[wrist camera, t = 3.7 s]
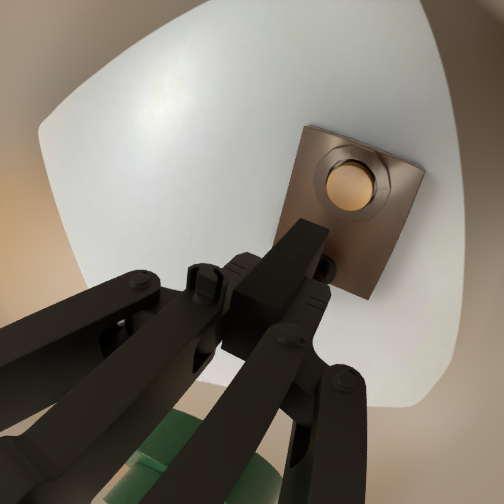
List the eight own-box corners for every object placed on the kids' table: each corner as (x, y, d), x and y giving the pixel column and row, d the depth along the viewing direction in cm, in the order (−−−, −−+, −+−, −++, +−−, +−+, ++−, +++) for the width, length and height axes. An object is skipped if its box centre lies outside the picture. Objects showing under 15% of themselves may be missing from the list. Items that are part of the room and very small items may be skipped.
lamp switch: (379, 171, 24) (378, 175, 23) (365, 212, 27) (363, 218, 25) (337, 155, 26) (333, 158, 24) (325, 195, 28) (320, 200, 26)
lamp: (374, 260, 28) (249, 581, 6) (341, 327, 32) (221, 569, 11) (288, 225, 30) (55, 458, 8) (267, 295, 35) (101, 497, 13)
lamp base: (423, 167, 25) (427, 174, 22) (370, 290, 33) (365, 309, 30) (309, 125, 29) (298, 126, 26) (276, 250, 37) (262, 265, 33)
